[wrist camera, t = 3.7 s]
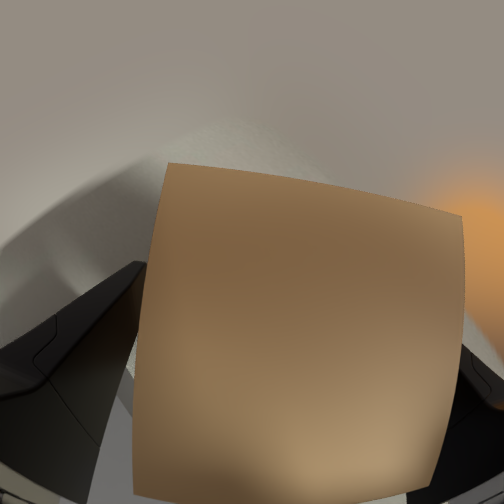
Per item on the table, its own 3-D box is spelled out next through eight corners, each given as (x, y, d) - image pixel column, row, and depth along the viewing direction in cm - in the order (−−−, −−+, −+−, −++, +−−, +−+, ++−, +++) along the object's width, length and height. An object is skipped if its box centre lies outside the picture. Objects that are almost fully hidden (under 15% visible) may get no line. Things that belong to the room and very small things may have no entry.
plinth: (233, 503, 13) (235, 532, 10) (81, 545, 11) (68, 565, 8) (94, 310, 15) (69, 309, 12) (-28, 394, 12) (-53, 400, 9)
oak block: (292, 375, 15) (429, 485, 3) (197, 366, 15) (133, 493, 3) (302, 283, 16) (462, 216, 4) (208, 272, 16) (168, 163, 4)
